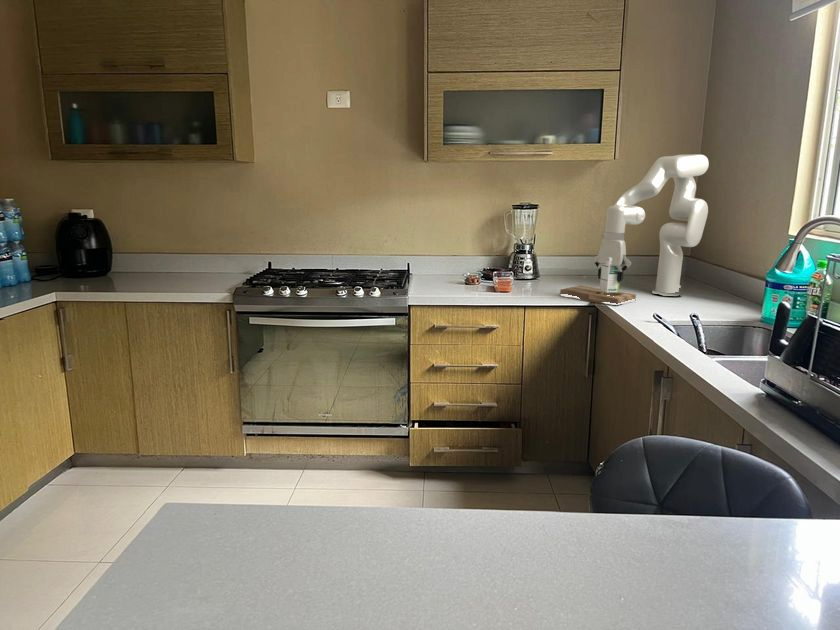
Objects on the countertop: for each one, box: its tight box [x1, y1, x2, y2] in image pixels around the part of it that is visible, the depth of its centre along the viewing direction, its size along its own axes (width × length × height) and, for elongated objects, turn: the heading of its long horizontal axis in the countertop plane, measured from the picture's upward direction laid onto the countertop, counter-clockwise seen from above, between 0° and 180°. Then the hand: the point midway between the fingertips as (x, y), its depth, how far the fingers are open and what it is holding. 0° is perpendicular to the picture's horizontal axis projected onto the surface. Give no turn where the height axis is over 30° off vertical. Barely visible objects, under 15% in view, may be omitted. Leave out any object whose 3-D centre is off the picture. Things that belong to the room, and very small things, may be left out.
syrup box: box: [599, 257, 621, 293], centre depth 252 cm, size 6×6×14 cm
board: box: [559, 284, 637, 305], centre depth 258 cm, size 16×26×3 cm, turn 45°
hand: (610, 279), depth 253 cm, fingers closed on syrup box, 7 cm apart
